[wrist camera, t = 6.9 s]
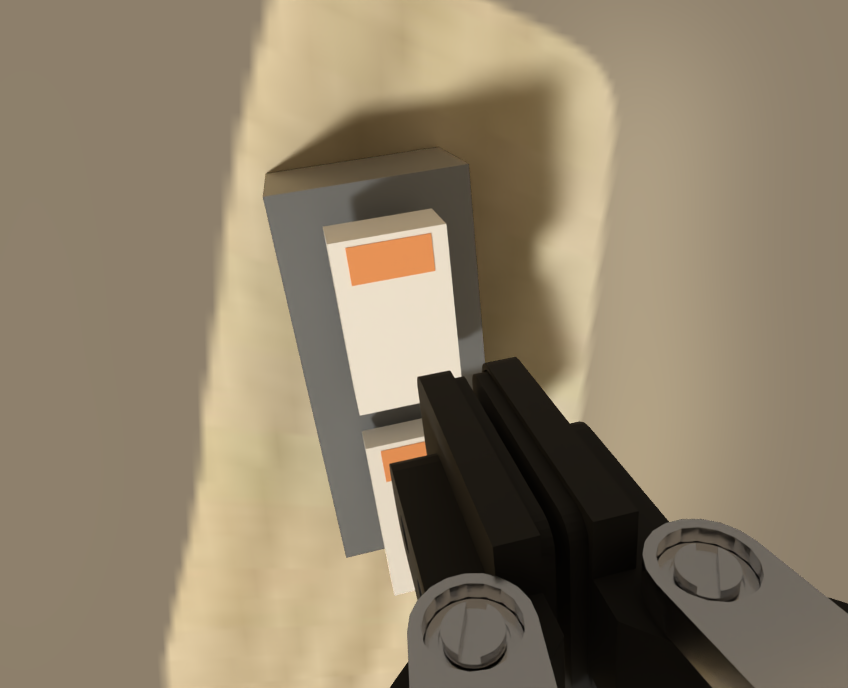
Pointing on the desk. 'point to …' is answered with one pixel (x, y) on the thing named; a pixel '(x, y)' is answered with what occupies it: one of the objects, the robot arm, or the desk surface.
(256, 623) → the desk surface
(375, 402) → the rocker
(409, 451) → the rocker
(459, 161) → the rocker switch panel
